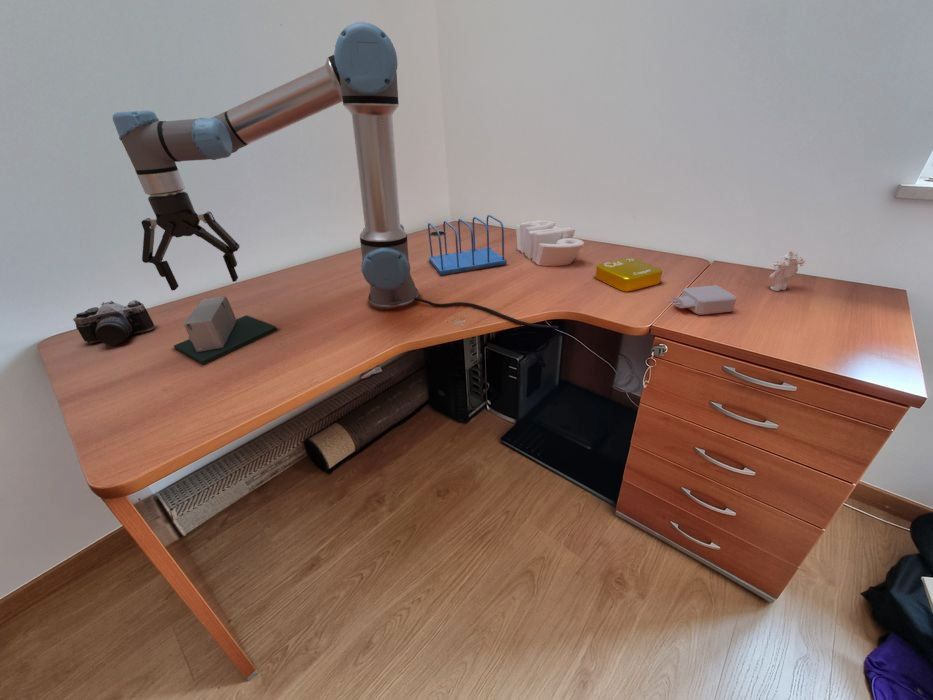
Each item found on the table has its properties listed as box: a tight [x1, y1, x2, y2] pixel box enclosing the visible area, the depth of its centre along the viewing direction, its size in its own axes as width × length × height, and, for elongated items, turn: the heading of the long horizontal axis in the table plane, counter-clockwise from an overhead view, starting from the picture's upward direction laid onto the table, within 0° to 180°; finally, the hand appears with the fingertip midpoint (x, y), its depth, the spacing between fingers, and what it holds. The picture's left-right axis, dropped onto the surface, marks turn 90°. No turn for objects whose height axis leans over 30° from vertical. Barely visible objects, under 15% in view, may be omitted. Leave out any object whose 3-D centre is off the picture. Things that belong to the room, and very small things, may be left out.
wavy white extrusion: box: [515, 219, 585, 267], centre depth 151 cm, size 35×16×10 cm, turn 13°
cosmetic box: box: [183, 295, 237, 352], centre depth 103 cm, size 8×7×16 cm
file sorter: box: [427, 214, 507, 276], centre depth 145 cm, size 25×17×15 cm
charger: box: [668, 284, 737, 316], centre depth 107 cm, size 5×9×15 cm
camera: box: [72, 299, 155, 346], centre depth 106 cm, size 16×10×10 cm, turn 117°
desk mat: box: [173, 315, 278, 365], centre depth 106 cm, size 15×20×1 cm
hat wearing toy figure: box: [768, 250, 806, 292], centre depth 113 cm, size 9×4×12 cm, turn 104°
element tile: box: [595, 257, 663, 293], centre depth 126 cm, size 15×15×5 cm
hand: (205, 284), depth 98 cm, fingers open, 13 cm apart
